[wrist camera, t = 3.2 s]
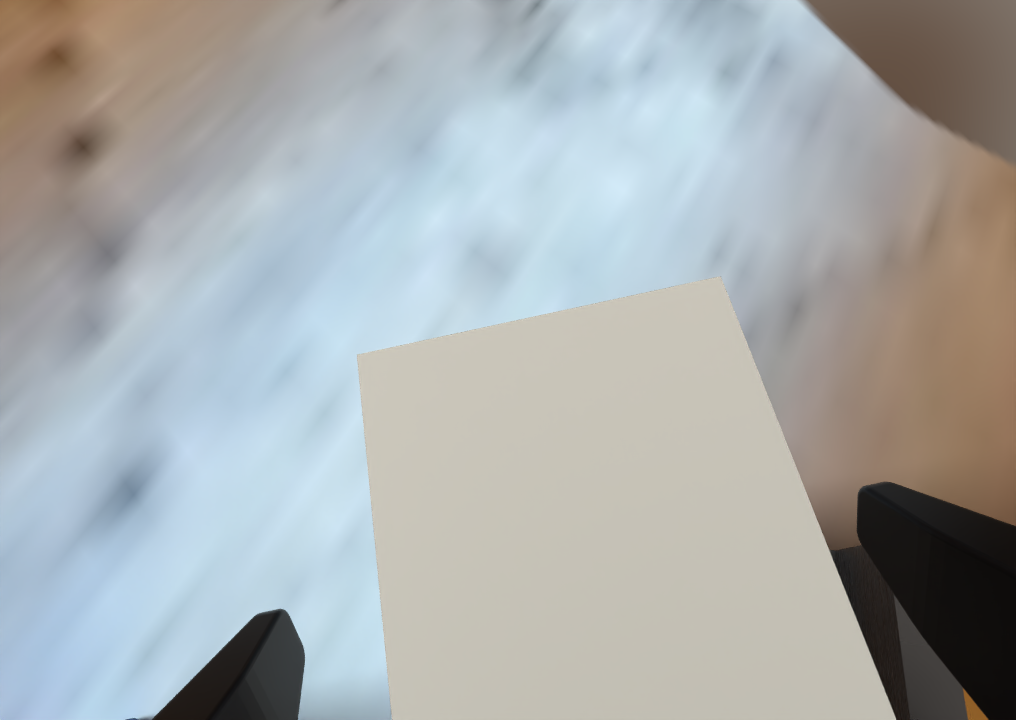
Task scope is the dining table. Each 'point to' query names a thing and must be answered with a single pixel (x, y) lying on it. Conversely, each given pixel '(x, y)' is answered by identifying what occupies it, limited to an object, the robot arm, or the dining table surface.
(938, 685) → the rack
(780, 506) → the panel
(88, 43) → the dining table surface
